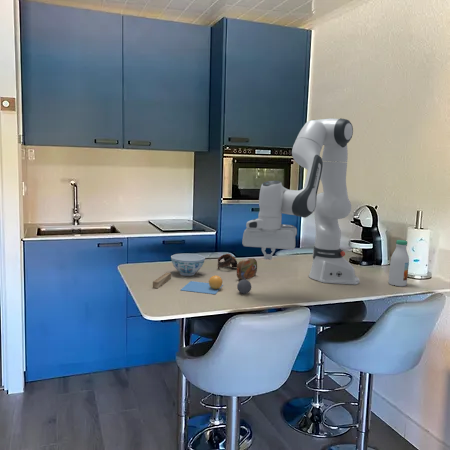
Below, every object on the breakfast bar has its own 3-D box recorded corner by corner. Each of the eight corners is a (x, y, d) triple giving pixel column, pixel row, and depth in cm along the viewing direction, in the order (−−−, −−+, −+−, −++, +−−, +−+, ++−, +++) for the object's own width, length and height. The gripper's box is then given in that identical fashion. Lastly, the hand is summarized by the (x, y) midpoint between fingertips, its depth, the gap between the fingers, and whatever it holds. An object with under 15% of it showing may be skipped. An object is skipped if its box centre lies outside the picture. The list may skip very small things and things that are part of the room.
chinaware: (180, 268, 212) (181, 252, 211) (209, 272, 207) (210, 256, 206) (164, 275, 199) (164, 257, 197) (195, 280, 193) (195, 262, 192)
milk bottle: (397, 287, 198) (402, 242, 196) (384, 282, 205) (388, 239, 202) (410, 286, 202) (415, 241, 199) (396, 281, 209) (401, 238, 206)
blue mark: (223, 285, 187) (223, 284, 187) (215, 294, 174) (215, 293, 174) (190, 281, 190) (190, 281, 190) (180, 290, 176) (180, 289, 176)
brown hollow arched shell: (241, 272, 213) (234, 258, 209) (222, 280, 213) (216, 266, 210) (237, 260, 224) (231, 247, 220) (219, 268, 224) (213, 254, 221)
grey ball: (235, 280, 179) (241, 291, 180) (234, 287, 174) (241, 298, 175) (247, 274, 177) (254, 285, 179) (246, 281, 172) (253, 292, 174)
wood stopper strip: (170, 278, 193) (171, 273, 192) (157, 288, 177) (157, 282, 177) (166, 278, 193) (166, 272, 193) (152, 288, 178) (152, 281, 177)
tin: (240, 281, 194) (242, 262, 193) (234, 280, 196) (235, 261, 195) (257, 275, 207) (258, 257, 206) (251, 274, 208) (252, 256, 207)
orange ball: (217, 271, 183) (207, 280, 184) (213, 274, 177) (204, 283, 179) (226, 281, 182) (217, 290, 184) (223, 284, 177) (214, 293, 178)
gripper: (297, 224, 174) (295, 259, 176) (244, 221, 178) (243, 255, 180) (296, 226, 168) (294, 262, 170) (242, 223, 172) (240, 258, 174)
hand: (268, 259), depth 175 cm, fingers closed
